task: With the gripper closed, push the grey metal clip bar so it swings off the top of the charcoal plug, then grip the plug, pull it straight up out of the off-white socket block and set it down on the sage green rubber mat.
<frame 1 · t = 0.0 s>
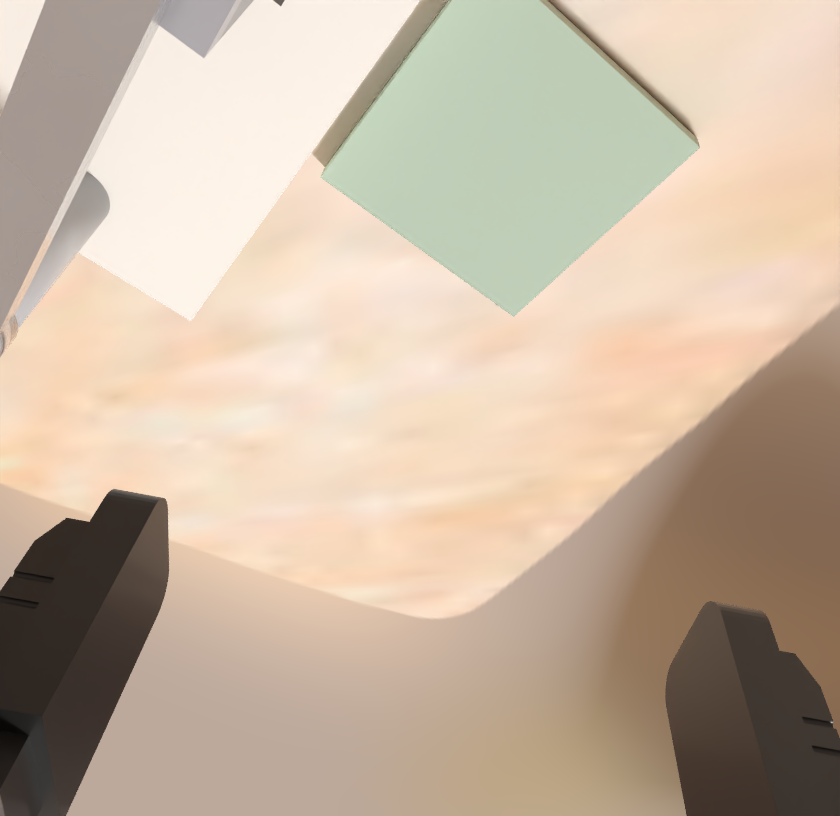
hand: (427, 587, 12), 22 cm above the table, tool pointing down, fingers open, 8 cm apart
mat: (503, 153, 31), on the table
clip: (37, 163, 21), point 11 cm above the table, hinge at 0.0°
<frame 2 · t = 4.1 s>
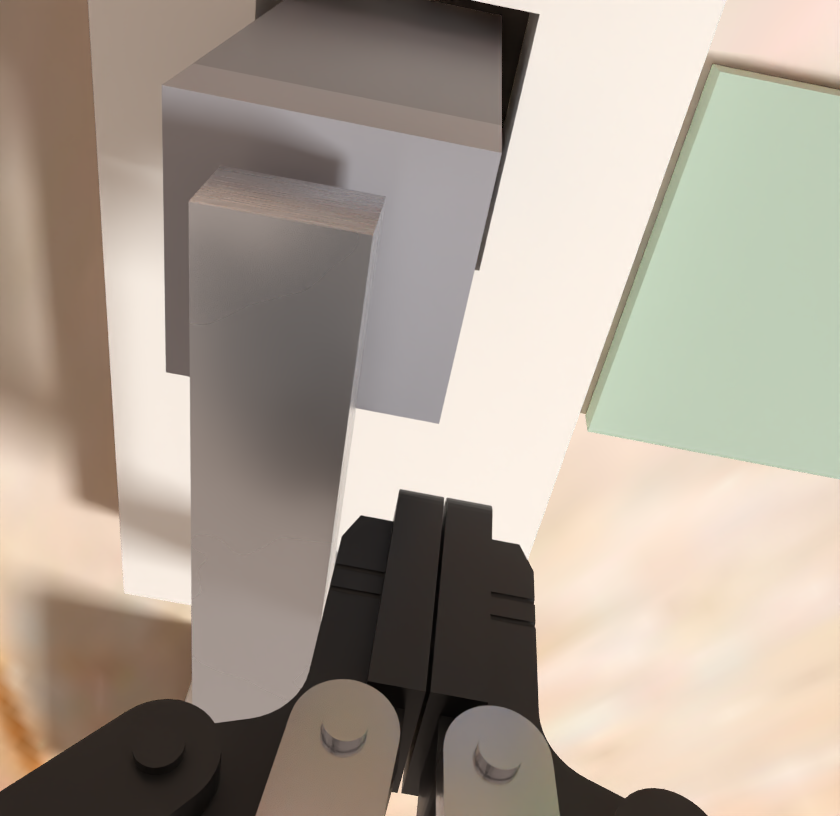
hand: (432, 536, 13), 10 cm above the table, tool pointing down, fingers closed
mat: (824, 299, 21), on the table
socket block: (364, 296, 22), on the table
plug: (395, 92, 19), resting in socket block
clip: (260, 651, 14), point 11 cm above the table, hinge at 0.7°, touching gripper
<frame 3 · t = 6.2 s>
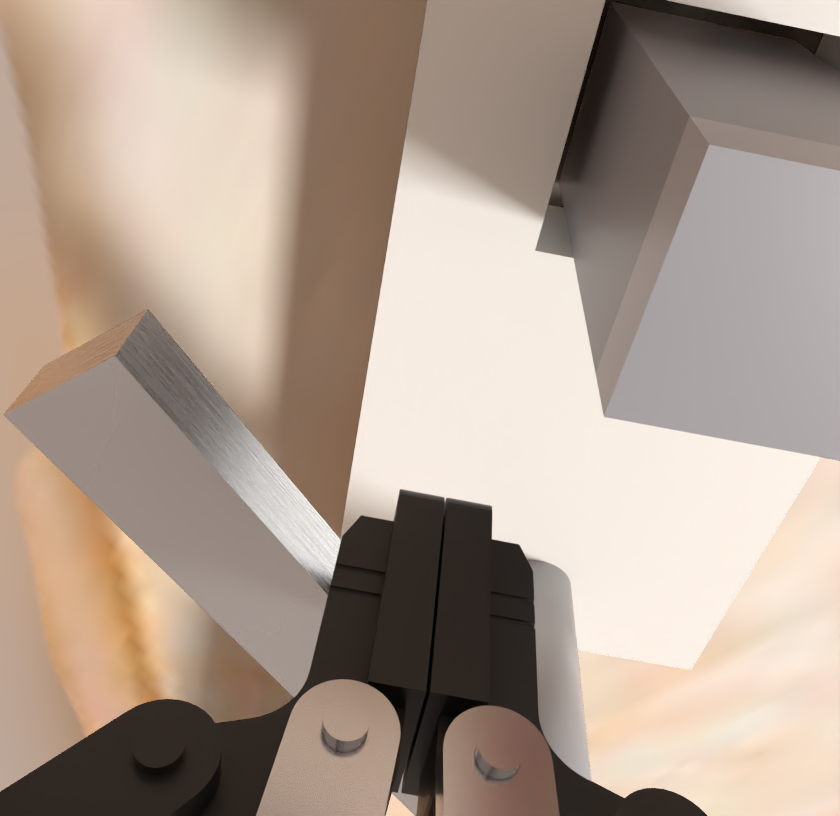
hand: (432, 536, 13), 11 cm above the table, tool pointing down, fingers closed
socket block: (599, 314, 22), on the table
plug: (669, 115, 19), resting in socket block
clip: (388, 697, 15), point 11 cm above the table, hinge at 39.7°, touching gripper
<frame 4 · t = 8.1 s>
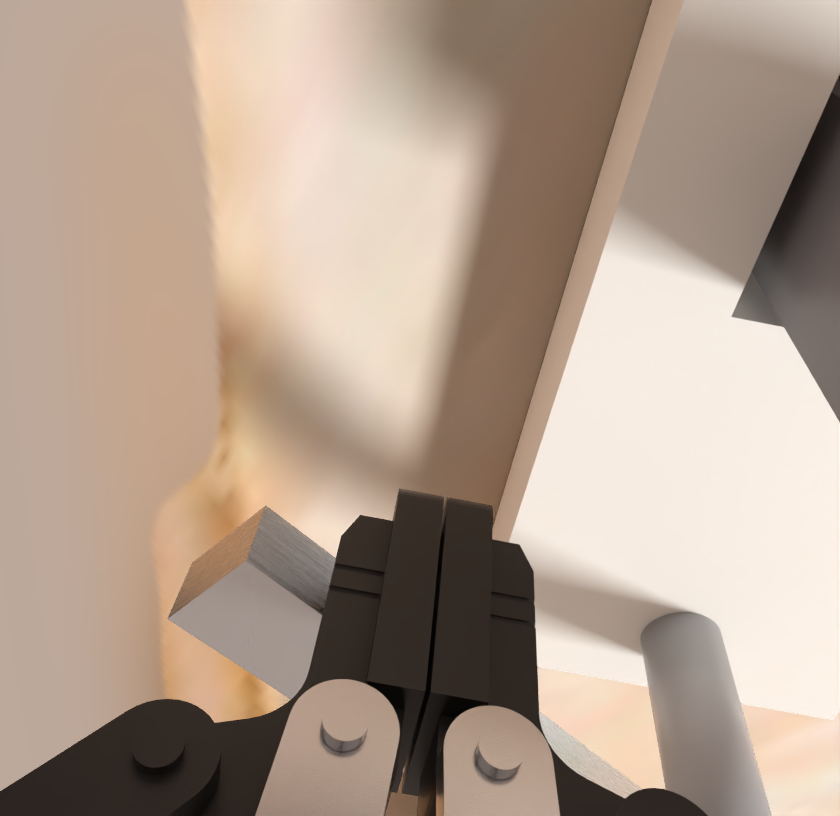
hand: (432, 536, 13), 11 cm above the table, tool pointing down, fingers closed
socket block: (761, 370, 23), on the table
clip: (549, 795, 16), point 11 cm above the table, hinge at 54.1°, touching gripper
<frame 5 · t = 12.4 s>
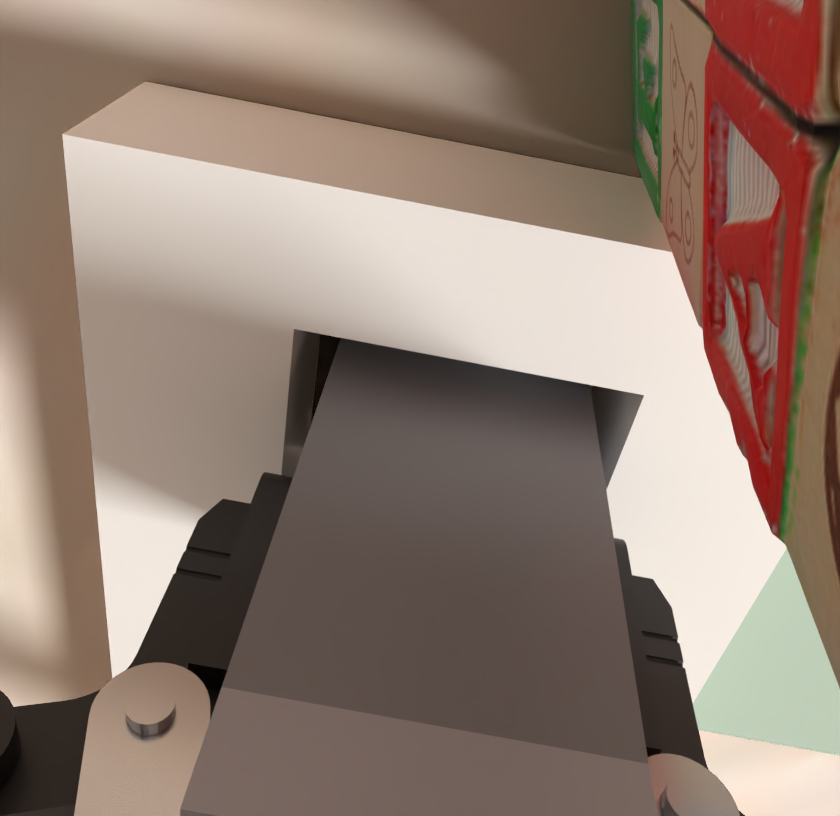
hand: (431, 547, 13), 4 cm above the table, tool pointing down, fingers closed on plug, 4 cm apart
socket block: (406, 582, 19), on the table
plug: (449, 395, 16), resting in socket block, touching gripper
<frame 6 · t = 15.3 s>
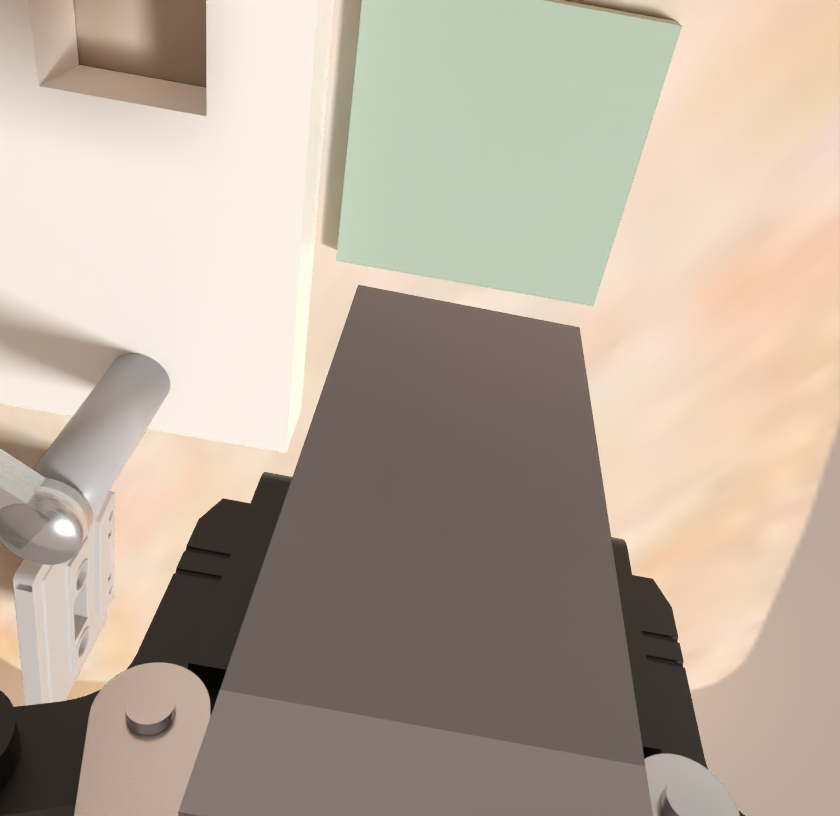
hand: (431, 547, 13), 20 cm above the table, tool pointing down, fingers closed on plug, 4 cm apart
mat: (491, 147, 29), on the table
socket block: (158, 157, 30), on the table
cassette: (101, 541, 42), on the table
plug: (448, 397, 16), point 15 cm above the table, touching gripper
when the fingers open (7 cm above the table, at t = 18.2 s): plug drops 1 cm, resting on mat.
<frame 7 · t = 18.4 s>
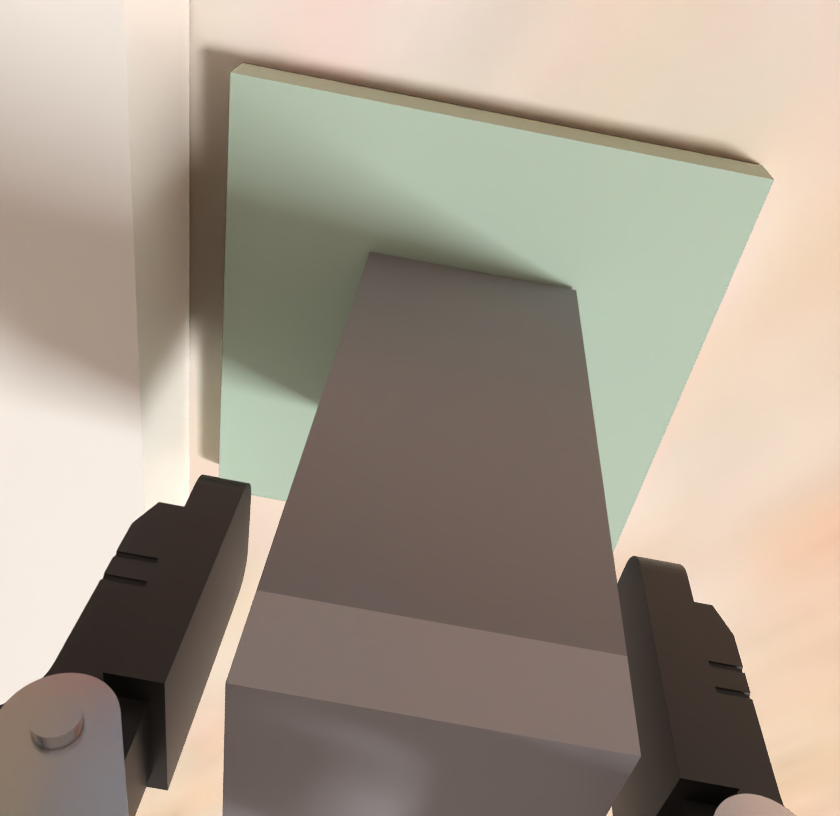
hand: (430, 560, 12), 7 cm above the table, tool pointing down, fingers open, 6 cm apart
mat: (454, 340, 18), on the table
plug: (454, 358, 17), point 1 cm above the table, touching mat
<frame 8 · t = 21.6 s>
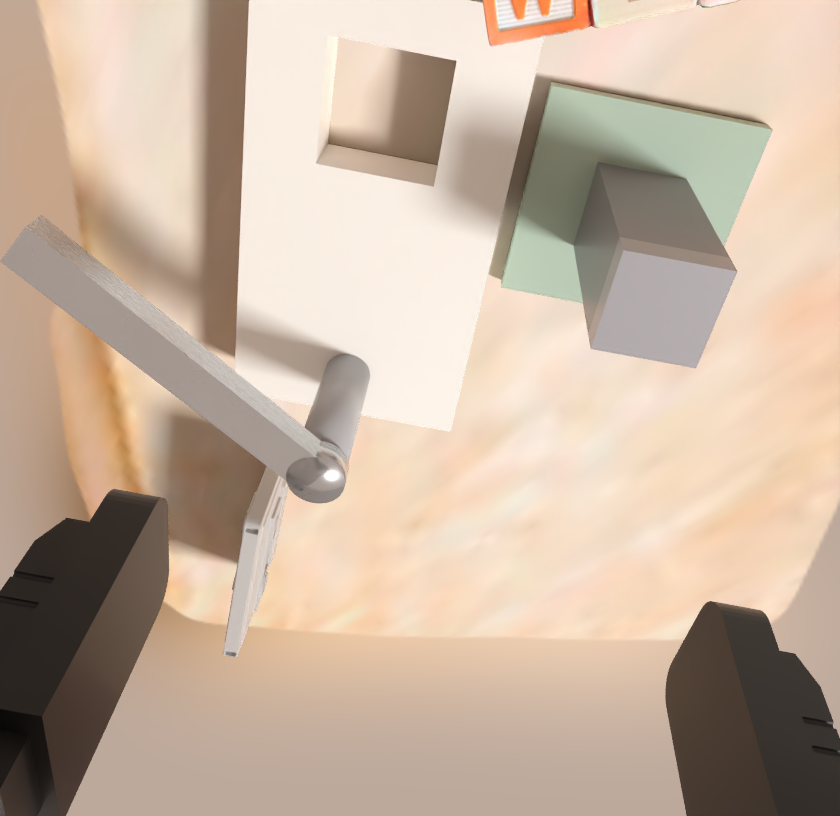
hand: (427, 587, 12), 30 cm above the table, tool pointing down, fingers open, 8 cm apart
mat: (625, 208, 39), on the table
socket block: (375, 209, 40), on the table
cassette: (272, 505, 53), on the table
plug: (628, 213, 38), point 1 cm above the table, touching mat
clip: (193, 374, 33), point 11 cm above the table, hinge at 54.4°
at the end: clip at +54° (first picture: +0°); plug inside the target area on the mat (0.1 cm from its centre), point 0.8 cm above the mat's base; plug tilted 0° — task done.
